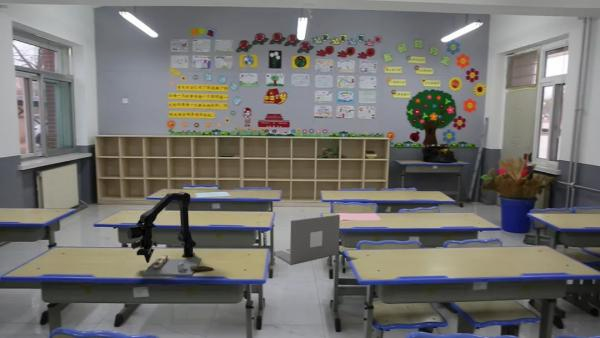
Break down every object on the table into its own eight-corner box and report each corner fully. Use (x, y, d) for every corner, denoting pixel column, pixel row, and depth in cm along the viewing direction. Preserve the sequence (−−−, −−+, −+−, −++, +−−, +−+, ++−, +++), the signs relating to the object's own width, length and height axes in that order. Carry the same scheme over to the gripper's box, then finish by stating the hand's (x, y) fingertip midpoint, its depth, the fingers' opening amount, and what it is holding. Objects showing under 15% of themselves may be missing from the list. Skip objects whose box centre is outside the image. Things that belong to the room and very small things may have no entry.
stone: (189, 271, 228) (189, 267, 228) (189, 268, 233) (189, 264, 232) (213, 271, 231) (213, 268, 231) (213, 268, 236) (213, 264, 235)
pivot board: (156, 260, 247) (156, 258, 247) (200, 260, 248) (200, 259, 248) (142, 275, 222) (142, 274, 222) (191, 276, 223) (191, 274, 223)
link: (159, 269, 229) (159, 263, 229) (152, 269, 229) (152, 263, 229) (168, 258, 247) (168, 253, 247) (161, 258, 247) (161, 253, 247)
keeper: (180, 267, 233) (180, 261, 233) (185, 267, 233) (185, 261, 233) (177, 271, 227) (177, 265, 227) (183, 271, 227) (183, 265, 227)
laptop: (315, 246, 282) (316, 207, 279) (338, 257, 260) (340, 215, 257) (269, 254, 263) (270, 212, 260) (290, 266, 242) (291, 221, 239)
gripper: (138, 231, 244) (139, 257, 246) (126, 240, 225) (127, 268, 227) (157, 231, 244) (158, 257, 246) (147, 240, 226) (148, 268, 228)
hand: (147, 262), depth 237 cm, fingers closed
